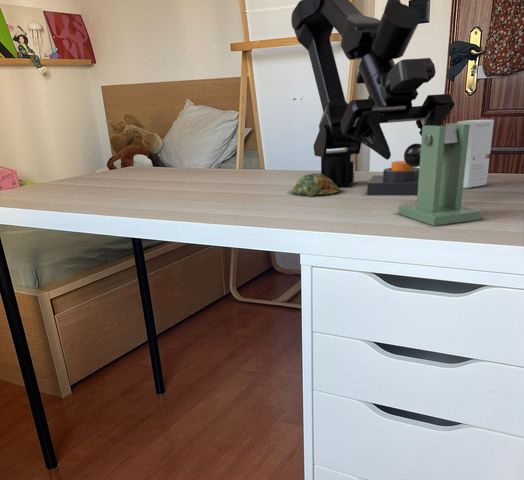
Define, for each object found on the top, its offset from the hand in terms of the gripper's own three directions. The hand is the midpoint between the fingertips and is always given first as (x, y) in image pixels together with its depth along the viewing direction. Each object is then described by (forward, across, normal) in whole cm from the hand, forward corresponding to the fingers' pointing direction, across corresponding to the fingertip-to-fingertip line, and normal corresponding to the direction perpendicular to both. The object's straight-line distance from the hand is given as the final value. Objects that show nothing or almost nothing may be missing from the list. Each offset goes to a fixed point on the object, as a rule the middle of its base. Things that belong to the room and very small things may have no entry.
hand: (414, 155), depth 86 cm
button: (-8, +8, +15) cm, 18 cm away
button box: (-5, +8, +17) cm, 20 cm away
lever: (+3, 0, -3) cm, 5 cm away
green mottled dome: (-11, -8, +23) cm, 27 cm away
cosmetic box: (-3, +21, +15) cm, 26 cm away
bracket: (+12, 0, +1) cm, 12 cm away
